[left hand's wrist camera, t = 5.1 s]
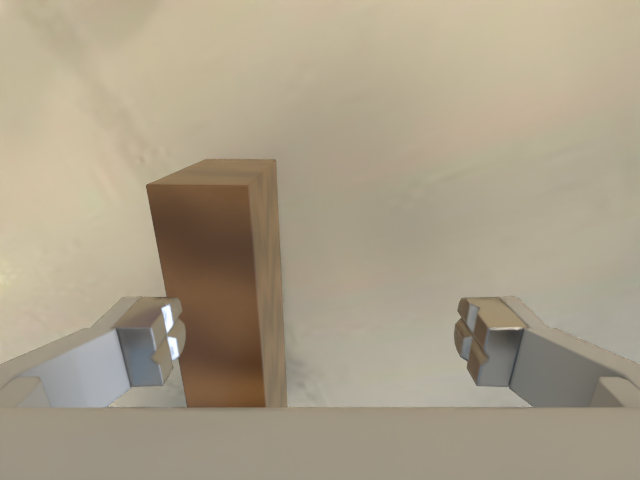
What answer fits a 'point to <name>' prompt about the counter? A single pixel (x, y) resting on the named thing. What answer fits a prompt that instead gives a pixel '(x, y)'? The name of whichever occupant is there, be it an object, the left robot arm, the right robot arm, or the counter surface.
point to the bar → (225, 279)
